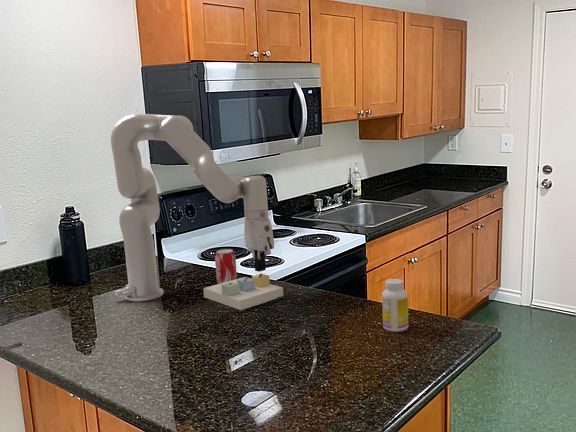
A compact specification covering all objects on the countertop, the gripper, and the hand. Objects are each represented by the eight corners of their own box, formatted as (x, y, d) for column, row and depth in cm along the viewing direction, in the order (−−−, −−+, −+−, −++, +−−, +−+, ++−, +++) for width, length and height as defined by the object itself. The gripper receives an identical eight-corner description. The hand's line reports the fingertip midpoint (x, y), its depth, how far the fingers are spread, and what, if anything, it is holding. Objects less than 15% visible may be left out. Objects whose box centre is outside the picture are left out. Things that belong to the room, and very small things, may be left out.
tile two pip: (245, 294, 185) (244, 281, 184) (237, 292, 188) (236, 279, 187) (255, 291, 187) (254, 279, 187) (247, 289, 190) (246, 276, 190)
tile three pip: (260, 290, 189) (259, 277, 188) (252, 288, 192) (251, 275, 191) (269, 287, 191) (269, 274, 191) (262, 285, 194) (261, 272, 194)
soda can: (234, 287, 201) (231, 253, 199) (214, 287, 202) (211, 253, 200) (239, 281, 207) (237, 248, 205) (220, 281, 209) (218, 248, 207)
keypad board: (240, 310, 177) (239, 300, 176) (204, 297, 192) (203, 288, 191) (283, 296, 187) (282, 287, 187) (245, 285, 202) (245, 276, 202)
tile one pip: (229, 299, 181) (228, 286, 180) (222, 296, 184) (221, 283, 183) (240, 296, 184) (239, 283, 183) (232, 293, 187) (231, 281, 186)
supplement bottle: (410, 324, 157) (409, 278, 155) (406, 333, 151) (405, 285, 149) (385, 322, 160) (383, 277, 157) (380, 331, 154) (379, 284, 151)
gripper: (280, 215, 184) (284, 271, 187) (251, 211, 195) (255, 264, 199) (261, 218, 179) (266, 277, 183) (233, 214, 191) (237, 269, 194)
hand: (260, 270), depth 191 cm, fingers closed
